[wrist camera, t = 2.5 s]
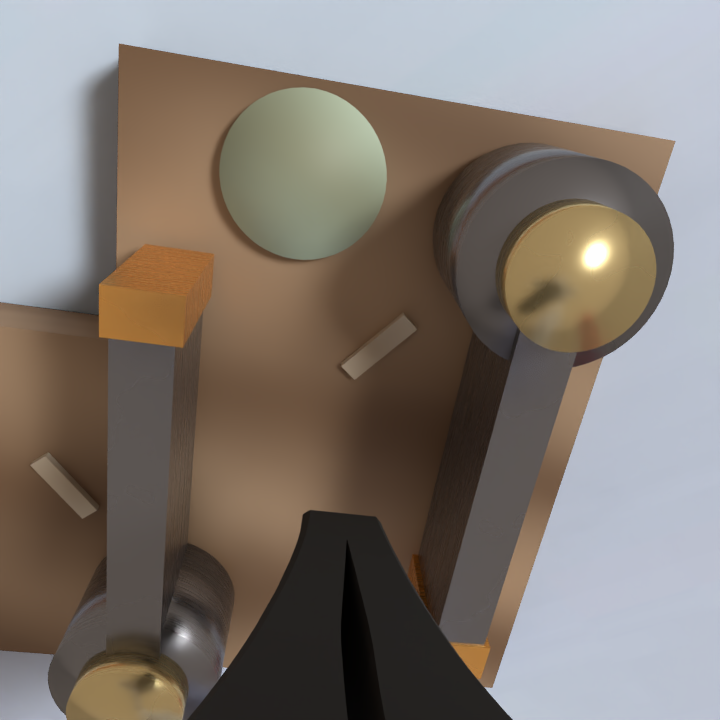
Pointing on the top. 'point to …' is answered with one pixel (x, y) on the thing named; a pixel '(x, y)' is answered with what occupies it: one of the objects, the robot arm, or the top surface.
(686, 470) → the top surface
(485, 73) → the top surface
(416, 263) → the walnut base
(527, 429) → the dark grey lever
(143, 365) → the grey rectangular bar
